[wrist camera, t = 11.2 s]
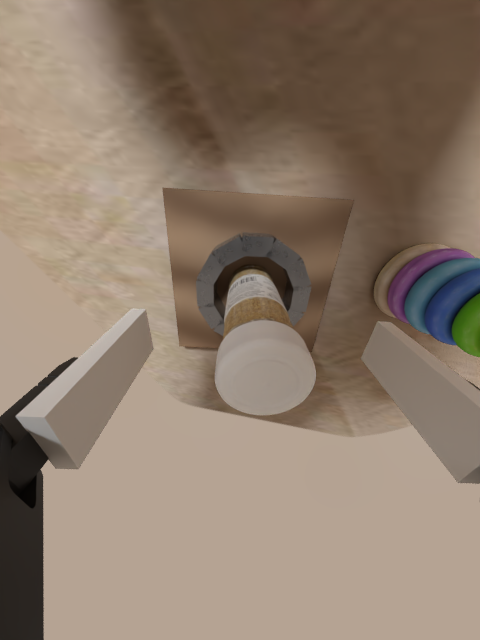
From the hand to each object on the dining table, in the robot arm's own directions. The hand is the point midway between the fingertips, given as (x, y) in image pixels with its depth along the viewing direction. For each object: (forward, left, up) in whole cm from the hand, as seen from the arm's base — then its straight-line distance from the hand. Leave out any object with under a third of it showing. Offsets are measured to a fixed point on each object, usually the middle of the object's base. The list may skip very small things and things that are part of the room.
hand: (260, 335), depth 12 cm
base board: (0, 0, -11) cm, 11 cm away
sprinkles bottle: (0, 0, -10) cm, 10 cm away
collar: (0, 0, -10) cm, 10 cm away
